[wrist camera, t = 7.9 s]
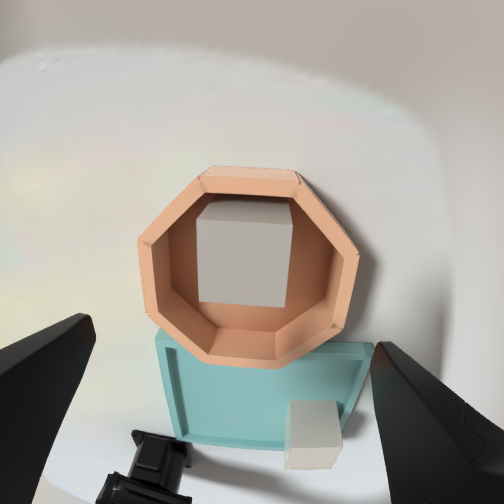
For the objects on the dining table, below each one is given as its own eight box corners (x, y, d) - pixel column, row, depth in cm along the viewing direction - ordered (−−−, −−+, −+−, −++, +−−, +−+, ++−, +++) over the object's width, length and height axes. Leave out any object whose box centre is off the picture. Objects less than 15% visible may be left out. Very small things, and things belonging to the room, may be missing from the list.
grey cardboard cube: (326, 425, 25) (330, 468, 21) (284, 425, 26) (284, 469, 21) (335, 400, 24) (343, 446, 19) (290, 399, 24) (291, 447, 19)
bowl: (325, 338, 22) (331, 371, 18) (167, 325, 22) (153, 356, 19) (353, 176, 17) (370, 188, 14) (156, 165, 18) (132, 175, 14)
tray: (332, 441, 27) (333, 450, 26) (178, 431, 28) (176, 439, 27) (370, 342, 22) (374, 353, 21) (159, 328, 22) (154, 338, 21)
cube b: (287, 197, 17) (292, 225, 13) (282, 262, 19) (284, 307, 14) (216, 193, 17) (196, 219, 13) (216, 257, 19) (199, 301, 14)
